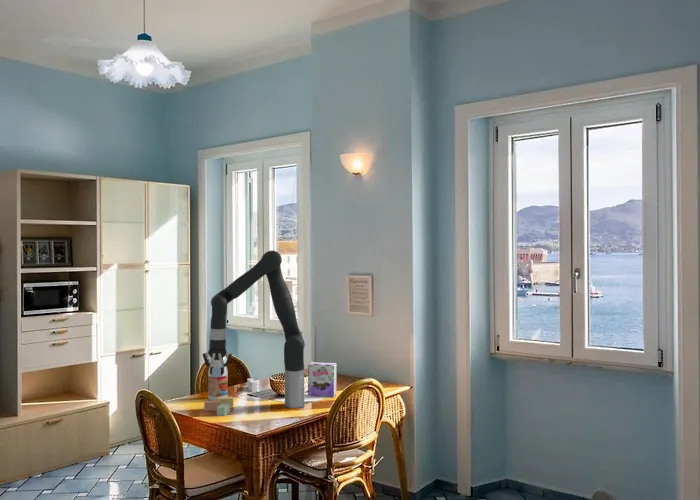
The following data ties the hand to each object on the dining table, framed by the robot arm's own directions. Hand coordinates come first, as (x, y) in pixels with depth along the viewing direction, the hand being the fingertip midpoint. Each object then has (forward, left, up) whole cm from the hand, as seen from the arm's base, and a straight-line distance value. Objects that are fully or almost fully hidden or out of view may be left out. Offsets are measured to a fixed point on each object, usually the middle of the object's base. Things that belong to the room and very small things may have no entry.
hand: (216, 374), depth 287 cm
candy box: (-50, -24, -16) cm, 58 cm away
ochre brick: (-3, -7, -16) cm, 18 cm away
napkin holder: (-14, -41, -17) cm, 46 cm away
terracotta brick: (+2, 0, -16) cm, 16 cm away
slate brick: (0, +1, -1) cm, 1 cm away
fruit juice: (+2, -20, -16) cm, 26 cm away
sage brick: (-4, +7, -16) cm, 18 cm away
